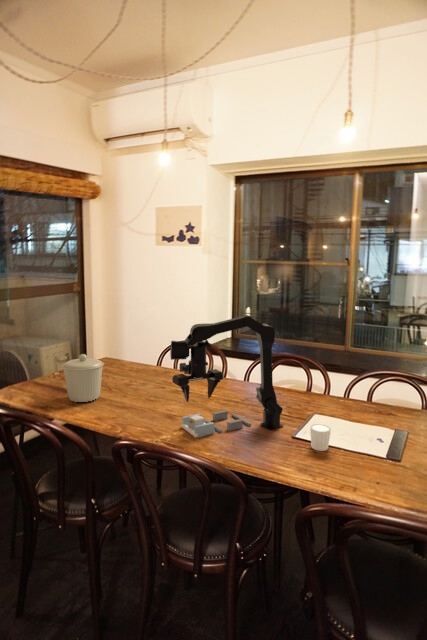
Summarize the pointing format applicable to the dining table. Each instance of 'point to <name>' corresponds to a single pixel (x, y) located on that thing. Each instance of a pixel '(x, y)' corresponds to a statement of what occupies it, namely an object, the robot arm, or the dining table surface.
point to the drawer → (198, 427)
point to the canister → (83, 378)
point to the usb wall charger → (195, 421)
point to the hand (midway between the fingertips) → (198, 399)
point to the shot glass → (320, 437)
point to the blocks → (231, 424)
